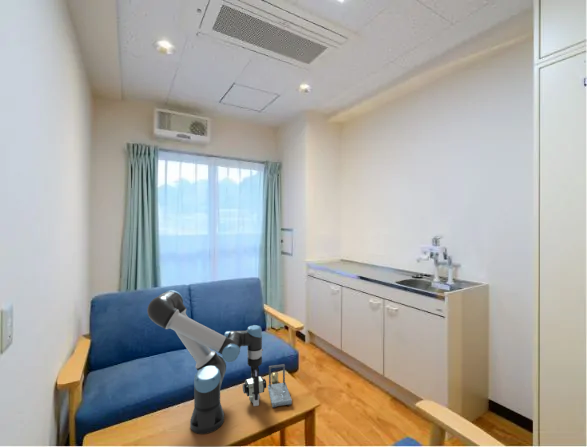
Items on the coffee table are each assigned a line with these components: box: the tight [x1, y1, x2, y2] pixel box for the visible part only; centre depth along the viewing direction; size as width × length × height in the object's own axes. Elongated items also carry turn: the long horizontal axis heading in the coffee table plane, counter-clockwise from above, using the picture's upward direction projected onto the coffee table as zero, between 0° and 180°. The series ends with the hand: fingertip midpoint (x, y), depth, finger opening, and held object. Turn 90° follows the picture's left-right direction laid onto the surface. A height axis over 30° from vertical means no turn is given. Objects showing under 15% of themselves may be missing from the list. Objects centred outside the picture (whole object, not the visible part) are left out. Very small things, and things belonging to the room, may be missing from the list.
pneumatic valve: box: [242, 375, 267, 404], centre depth 144 cm, size 6×12×12 cm, turn 115°
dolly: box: [267, 363, 293, 409], centre depth 147 cm, size 10×16×14 cm, turn 13°
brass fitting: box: [271, 371, 279, 384], centre depth 161 cm, size 4×4×5 cm
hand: (254, 397), depth 144 cm, fingers open, 13 cm apart
